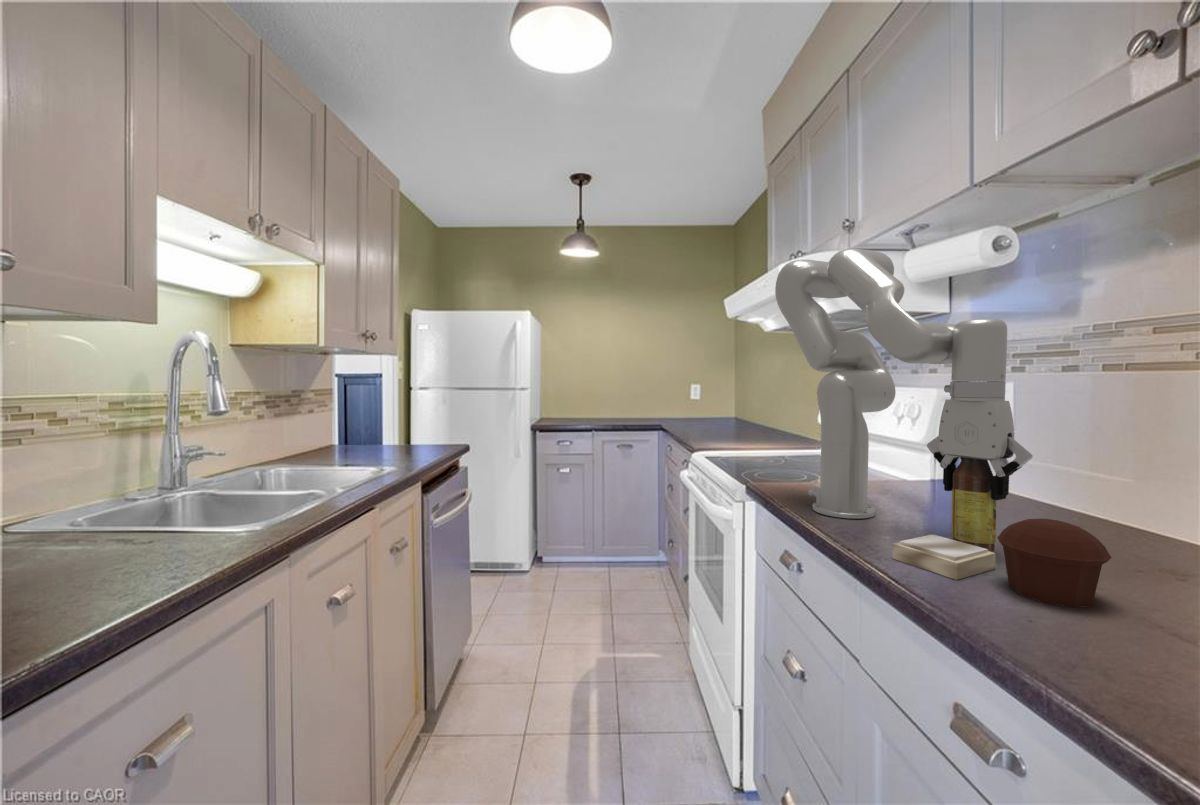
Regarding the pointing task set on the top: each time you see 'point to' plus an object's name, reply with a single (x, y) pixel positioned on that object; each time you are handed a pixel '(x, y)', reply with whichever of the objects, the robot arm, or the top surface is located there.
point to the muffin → (1053, 561)
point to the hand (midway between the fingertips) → (974, 493)
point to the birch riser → (944, 556)
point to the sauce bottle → (973, 504)
